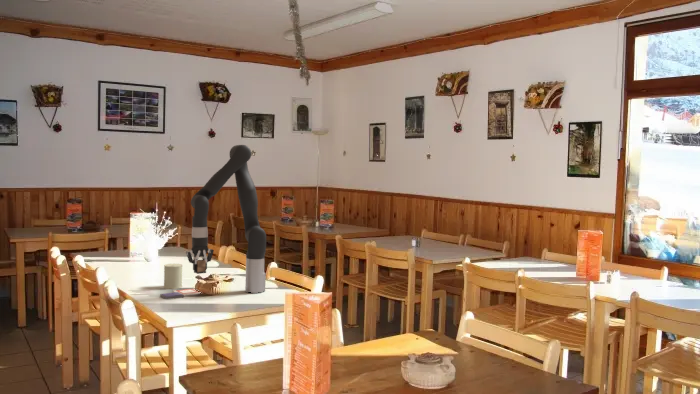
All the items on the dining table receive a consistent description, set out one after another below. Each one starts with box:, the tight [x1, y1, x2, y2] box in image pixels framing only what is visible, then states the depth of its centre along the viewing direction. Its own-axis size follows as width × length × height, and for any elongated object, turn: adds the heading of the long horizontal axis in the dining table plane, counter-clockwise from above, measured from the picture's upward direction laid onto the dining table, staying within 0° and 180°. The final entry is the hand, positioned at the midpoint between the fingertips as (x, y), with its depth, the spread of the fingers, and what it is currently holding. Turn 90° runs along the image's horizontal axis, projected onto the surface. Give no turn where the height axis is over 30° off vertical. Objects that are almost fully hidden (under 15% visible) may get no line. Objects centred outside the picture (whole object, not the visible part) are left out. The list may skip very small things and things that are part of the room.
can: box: [163, 263, 183, 290], centre depth 317 cm, size 9×9×12 cm
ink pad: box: [159, 292, 185, 300], centre depth 295 cm, size 9×7×1 cm
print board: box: [172, 288, 202, 296], centre depth 306 cm, size 11×10×1 cm
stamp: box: [193, 259, 207, 275], centre depth 299 cm, size 4×4×6 cm
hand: (200, 270), depth 299 cm, fingers closed on stamp, 4 cm apart
